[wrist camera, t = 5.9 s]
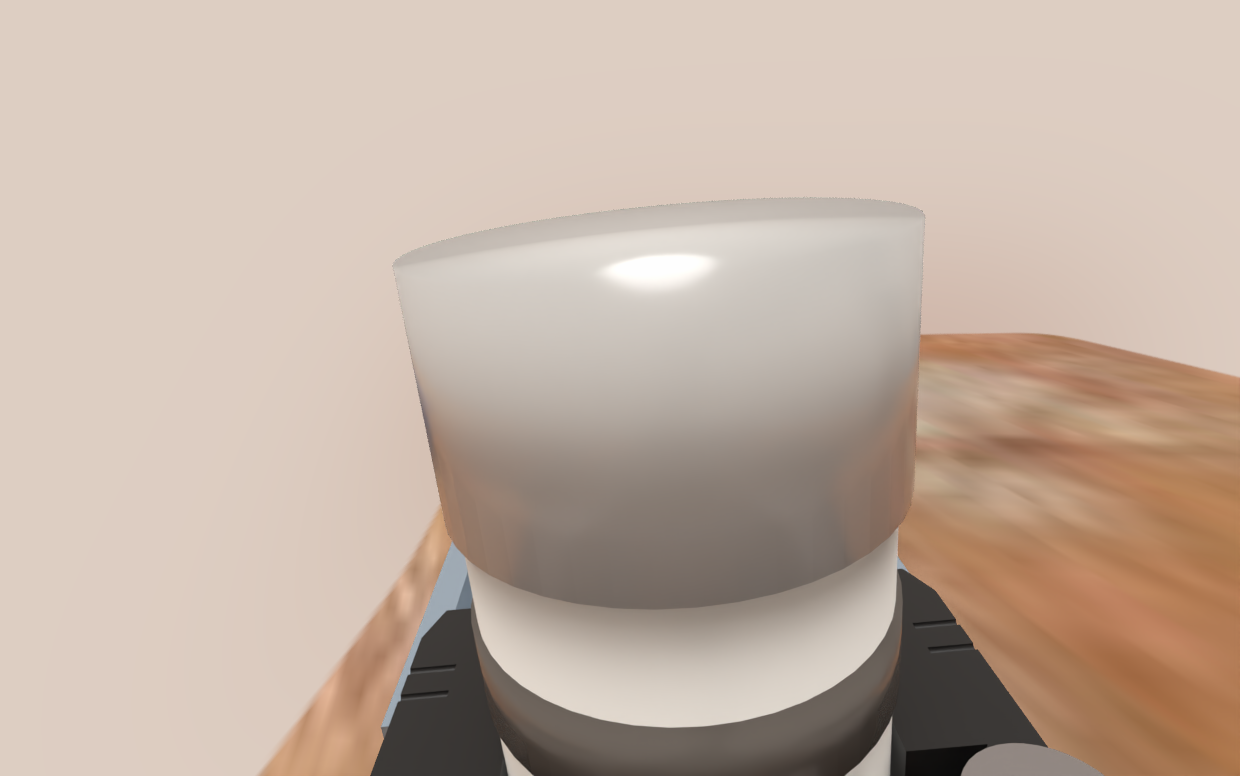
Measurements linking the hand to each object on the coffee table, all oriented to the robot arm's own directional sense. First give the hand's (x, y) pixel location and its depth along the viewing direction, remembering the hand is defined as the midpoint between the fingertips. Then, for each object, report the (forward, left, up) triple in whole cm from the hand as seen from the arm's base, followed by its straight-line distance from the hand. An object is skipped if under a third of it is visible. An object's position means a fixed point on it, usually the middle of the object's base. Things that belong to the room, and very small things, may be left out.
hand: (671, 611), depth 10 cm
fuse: (0, +3, -7) cm, 8 cm away
